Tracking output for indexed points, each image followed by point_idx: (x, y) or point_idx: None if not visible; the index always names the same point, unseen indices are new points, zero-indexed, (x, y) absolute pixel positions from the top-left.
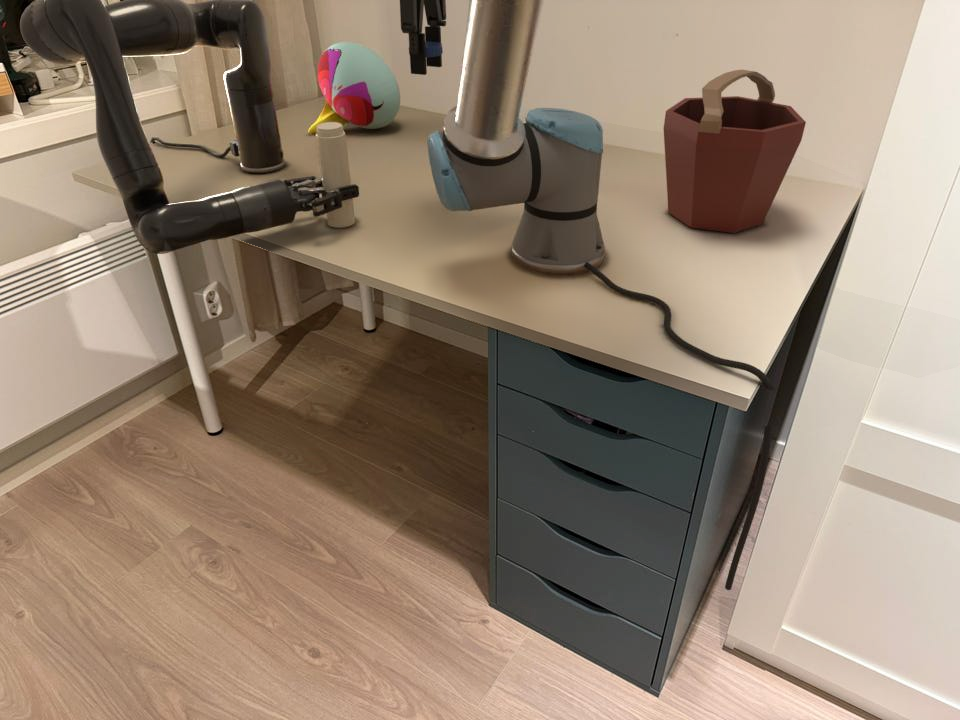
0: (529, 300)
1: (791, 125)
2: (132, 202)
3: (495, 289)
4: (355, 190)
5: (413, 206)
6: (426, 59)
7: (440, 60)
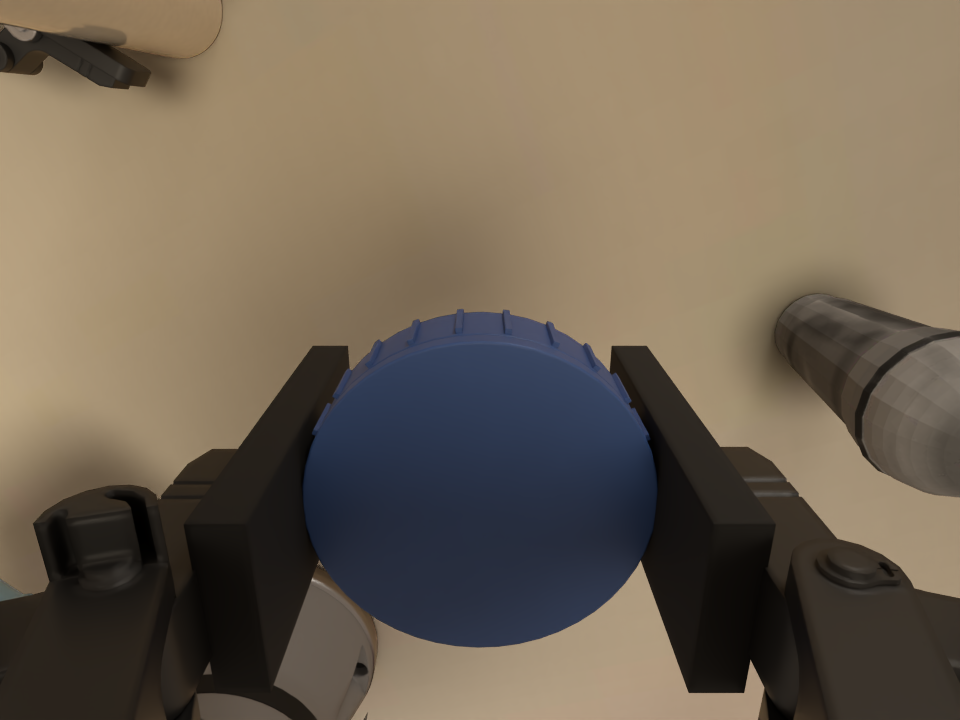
0: None
1: None
2: None
3: None
4: (106, 86)
5: (408, 186)
6: (621, 366)
7: None
